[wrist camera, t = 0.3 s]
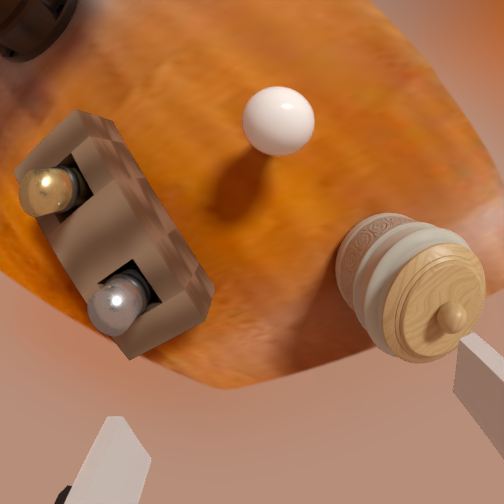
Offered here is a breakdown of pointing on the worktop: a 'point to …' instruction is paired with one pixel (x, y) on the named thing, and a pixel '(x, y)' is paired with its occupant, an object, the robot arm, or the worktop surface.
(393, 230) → the jar
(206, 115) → the worktop surface
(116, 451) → the robot arm
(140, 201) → the socket block
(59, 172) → the brass peg
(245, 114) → the lightbulb
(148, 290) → the steel peg
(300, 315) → the worktop surface
